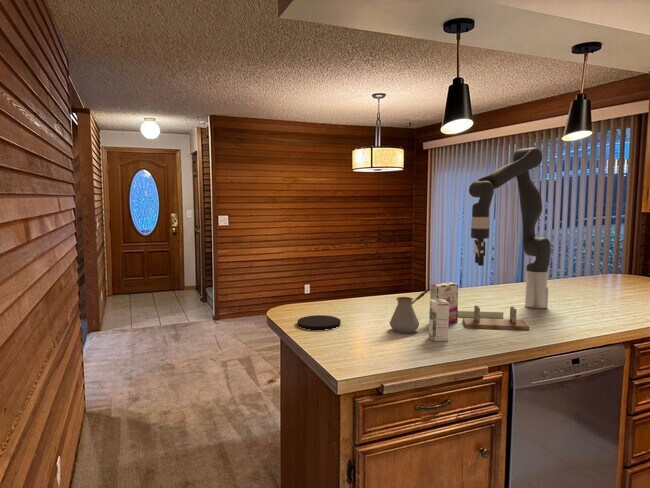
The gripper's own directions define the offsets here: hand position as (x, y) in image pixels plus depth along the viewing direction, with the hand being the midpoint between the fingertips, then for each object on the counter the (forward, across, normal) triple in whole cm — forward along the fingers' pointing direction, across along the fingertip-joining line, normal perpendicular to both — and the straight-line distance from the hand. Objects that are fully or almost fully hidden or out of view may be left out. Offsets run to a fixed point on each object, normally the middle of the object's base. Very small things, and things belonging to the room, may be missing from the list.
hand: (479, 264), depth 200 cm
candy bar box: (+23, -14, +16) cm, 31 cm away
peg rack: (+23, -16, -4) cm, 28 cm away
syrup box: (+23, -38, +20) cm, 49 cm away
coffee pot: (+23, -25, +29) cm, 45 cm away
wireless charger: (+24, -25, +67) cm, 75 cm away
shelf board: (+23, 0, 0) cm, 23 cm away
